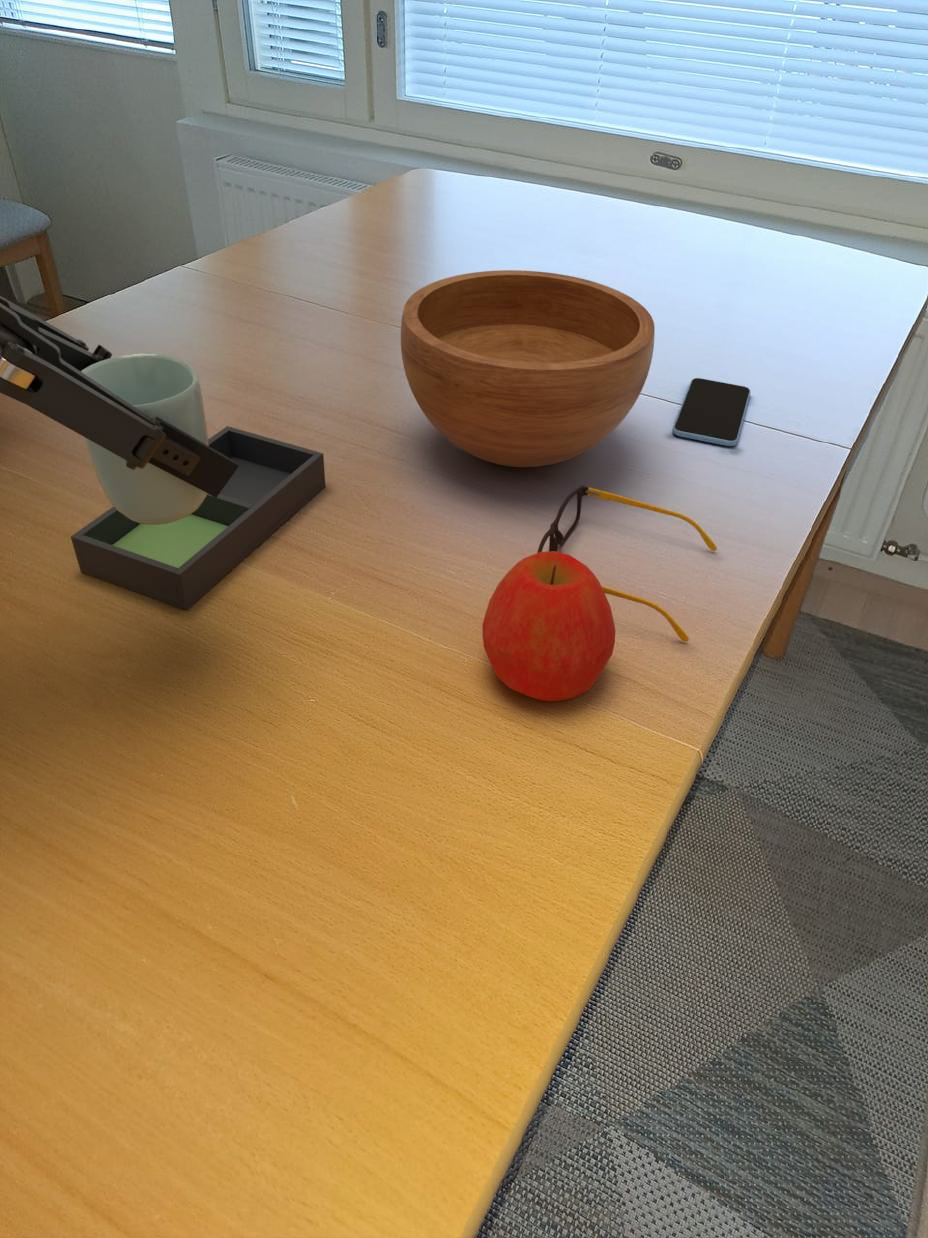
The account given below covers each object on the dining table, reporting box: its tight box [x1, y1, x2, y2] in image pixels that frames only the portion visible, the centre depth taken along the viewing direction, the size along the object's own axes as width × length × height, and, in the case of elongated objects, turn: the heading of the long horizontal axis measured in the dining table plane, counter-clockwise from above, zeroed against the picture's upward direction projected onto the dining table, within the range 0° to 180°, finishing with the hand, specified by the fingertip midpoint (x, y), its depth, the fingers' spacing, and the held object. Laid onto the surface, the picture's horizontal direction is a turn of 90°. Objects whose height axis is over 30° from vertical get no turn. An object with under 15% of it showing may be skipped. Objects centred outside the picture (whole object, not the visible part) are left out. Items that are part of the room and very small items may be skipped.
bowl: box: [400, 269, 656, 468], centre depth 94 cm, size 25×25×15 cm
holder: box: [70, 425, 327, 611], centre depth 85 cm, size 11×22×4 cm, turn 155°
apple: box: [481, 551, 616, 703], centre depth 69 cm, size 10×10×10 cm
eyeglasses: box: [536, 485, 718, 642], centre depth 81 cm, size 14×14×4 cm
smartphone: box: [672, 377, 752, 447], centre depth 107 cm, size 7×1×15 cm
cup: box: [81, 352, 210, 525], centre depth 62 cm, size 8×8×10 cm
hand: (200, 451), depth 65 cm, fingers closed on cup, 8 cm apart
